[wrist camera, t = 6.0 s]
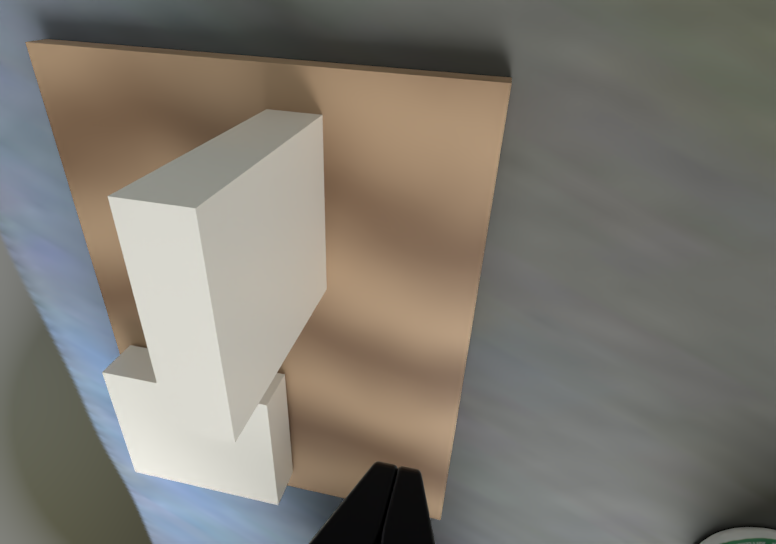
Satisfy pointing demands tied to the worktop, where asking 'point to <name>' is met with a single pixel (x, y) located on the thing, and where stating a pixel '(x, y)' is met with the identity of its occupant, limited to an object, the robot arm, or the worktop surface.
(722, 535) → the supplement bottle
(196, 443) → the tile
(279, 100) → the board
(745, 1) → the worktop surface
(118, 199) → the tile
